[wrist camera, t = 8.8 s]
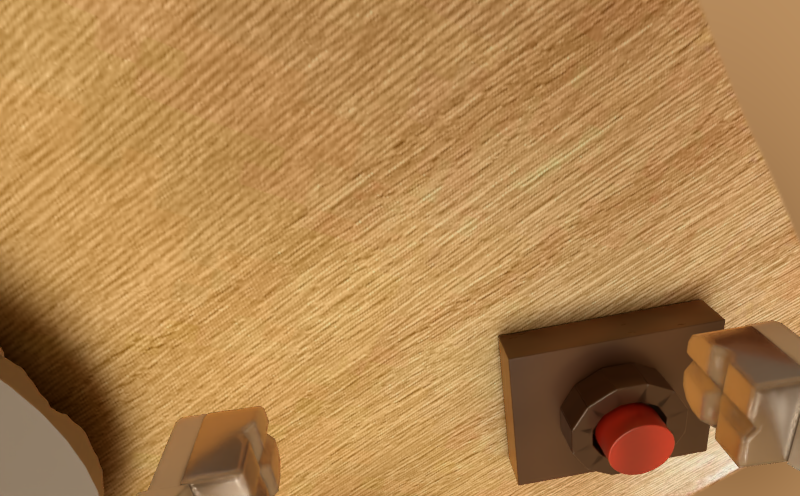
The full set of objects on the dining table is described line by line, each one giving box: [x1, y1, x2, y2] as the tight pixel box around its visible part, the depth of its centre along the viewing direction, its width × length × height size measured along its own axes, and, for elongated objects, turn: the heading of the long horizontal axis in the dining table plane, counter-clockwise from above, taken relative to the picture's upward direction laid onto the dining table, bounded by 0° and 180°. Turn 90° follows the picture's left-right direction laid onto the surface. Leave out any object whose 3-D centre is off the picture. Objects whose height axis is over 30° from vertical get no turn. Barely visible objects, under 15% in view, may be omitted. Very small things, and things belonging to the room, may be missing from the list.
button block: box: [498, 299, 725, 485], centre depth 31 cm, size 12×10×4 cm
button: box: [595, 402, 675, 475], centre depth 29 cm, size 4×4×2 cm
